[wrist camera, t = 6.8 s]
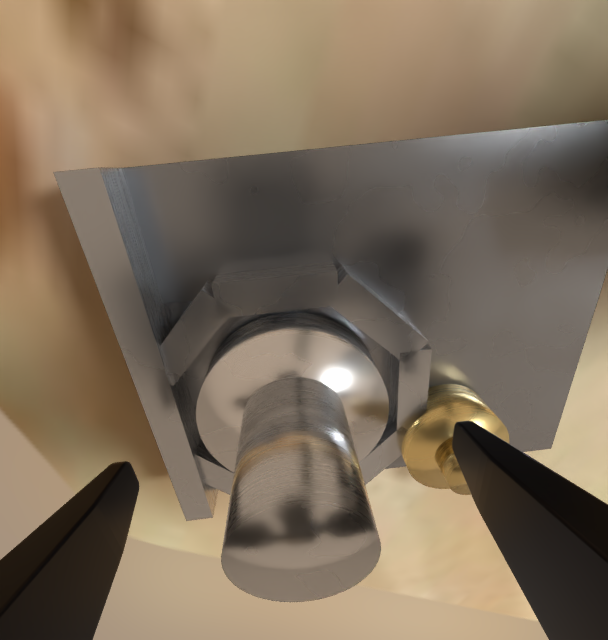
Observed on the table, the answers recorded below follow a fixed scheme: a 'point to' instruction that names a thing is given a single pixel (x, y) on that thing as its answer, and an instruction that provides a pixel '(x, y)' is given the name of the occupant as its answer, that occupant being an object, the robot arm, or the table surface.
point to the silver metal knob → (295, 454)
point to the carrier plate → (361, 279)
